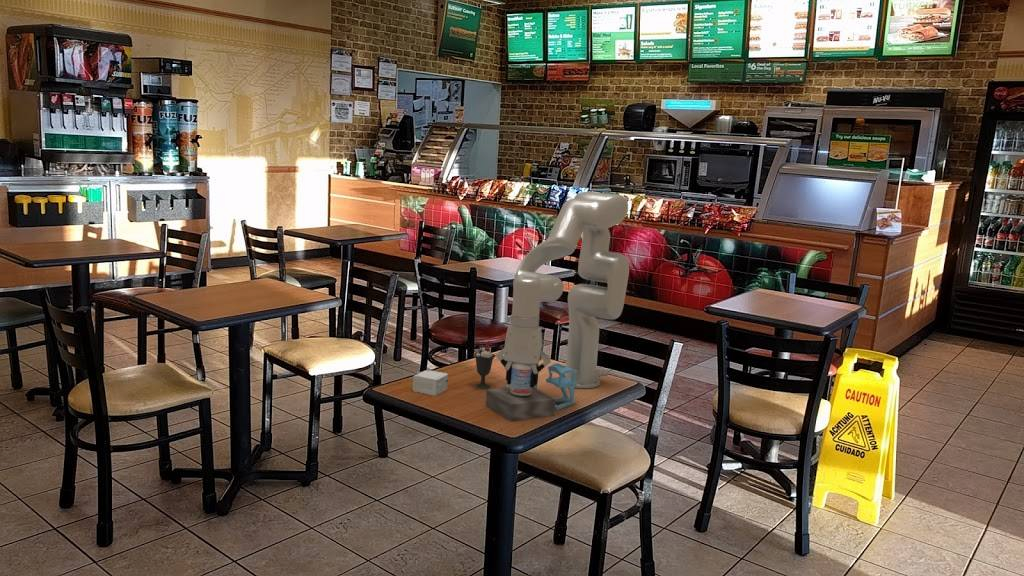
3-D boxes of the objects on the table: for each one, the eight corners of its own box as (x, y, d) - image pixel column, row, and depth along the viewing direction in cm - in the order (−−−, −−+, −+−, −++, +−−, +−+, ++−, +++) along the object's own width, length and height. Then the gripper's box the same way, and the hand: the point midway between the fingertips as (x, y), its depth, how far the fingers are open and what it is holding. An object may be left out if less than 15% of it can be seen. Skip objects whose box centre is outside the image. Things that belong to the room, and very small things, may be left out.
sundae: (491, 391, 234) (493, 342, 232) (469, 388, 235) (471, 340, 233) (495, 385, 240) (498, 337, 238) (474, 382, 242) (477, 335, 239)
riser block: (528, 401, 228) (529, 385, 227) (554, 416, 216) (555, 399, 215) (485, 406, 221) (486, 389, 220) (510, 422, 209) (511, 404, 208)
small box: (435, 396, 226) (436, 379, 226) (412, 392, 229) (412, 375, 228) (448, 389, 234) (448, 373, 233) (425, 385, 236) (425, 369, 236)
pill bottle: (513, 397, 214) (516, 357, 212) (507, 390, 219) (509, 351, 217) (534, 396, 215) (537, 357, 213) (528, 389, 221) (530, 351, 219)
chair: (579, 406, 225) (582, 365, 223) (556, 409, 220) (559, 368, 218) (563, 398, 231) (566, 359, 229) (540, 402, 227) (543, 362, 225)
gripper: (491, 320, 213) (487, 384, 216) (552, 328, 208) (548, 392, 211) (499, 315, 220) (496, 377, 223) (559, 322, 215) (554, 385, 218)
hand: (521, 384), depth 217 cm, fingers closed on pill bottle, 6 cm apart
